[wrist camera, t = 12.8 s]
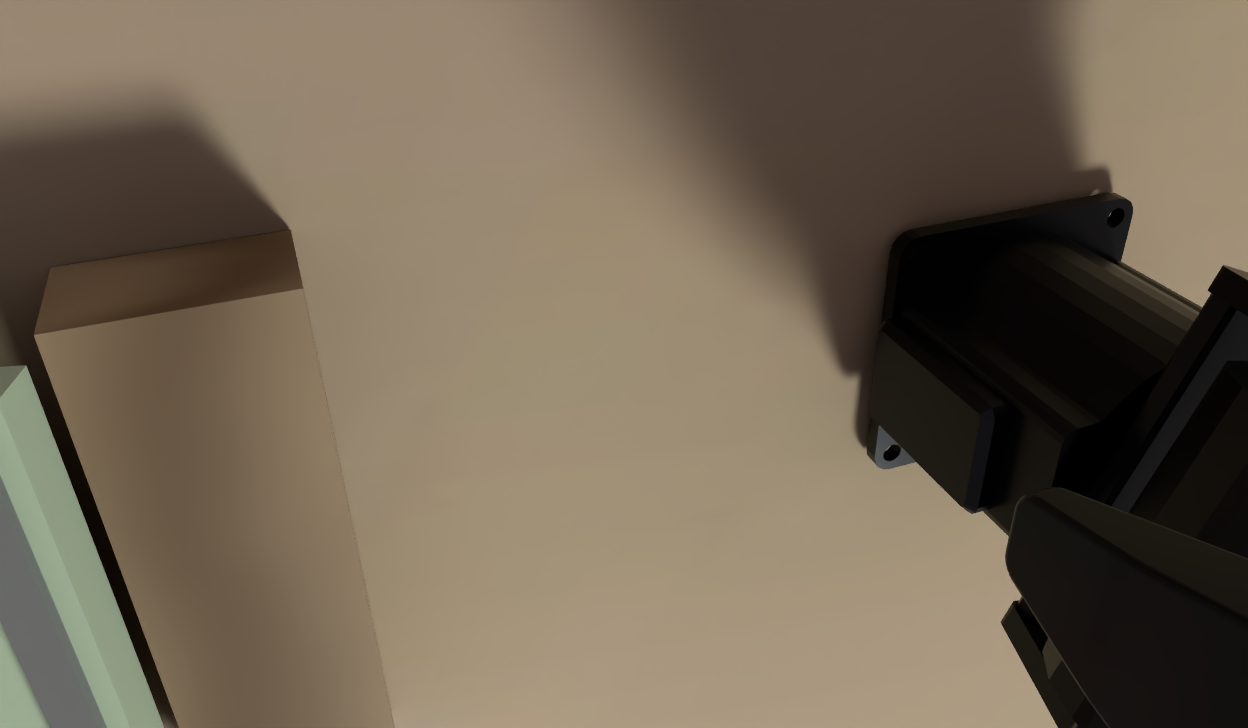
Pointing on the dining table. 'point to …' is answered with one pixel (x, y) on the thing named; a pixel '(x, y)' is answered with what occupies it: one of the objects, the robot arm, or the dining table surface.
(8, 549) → the trapdoor
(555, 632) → the dining table surface
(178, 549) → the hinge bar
